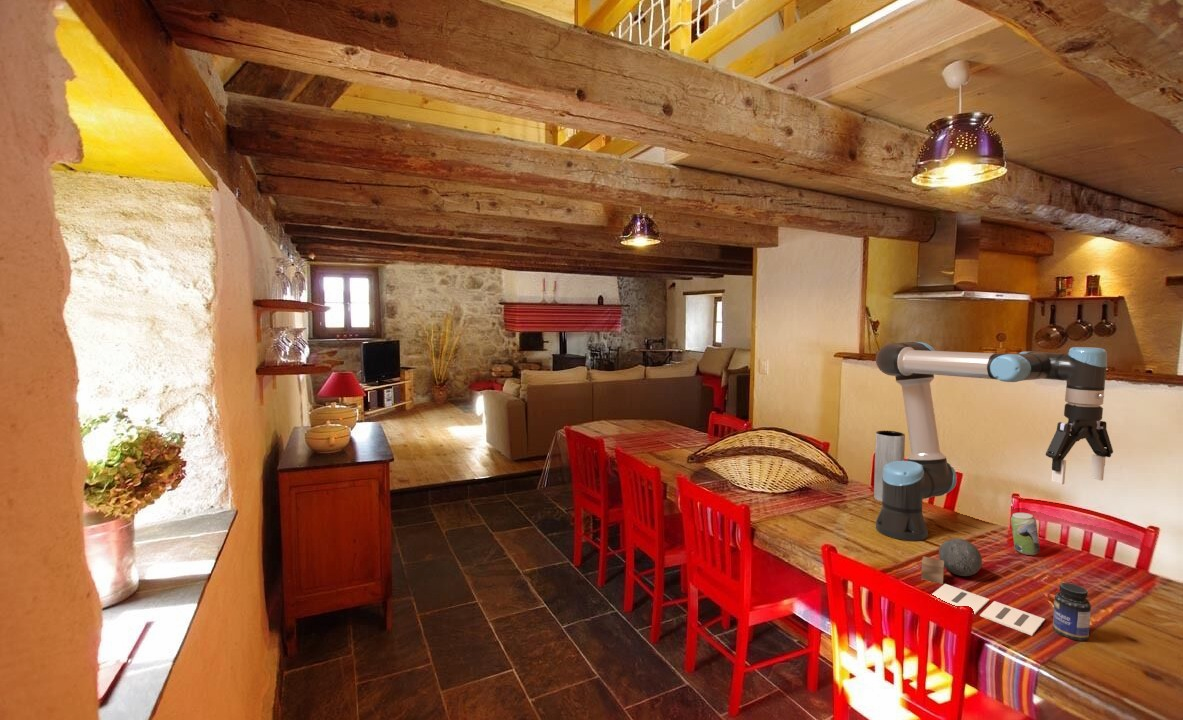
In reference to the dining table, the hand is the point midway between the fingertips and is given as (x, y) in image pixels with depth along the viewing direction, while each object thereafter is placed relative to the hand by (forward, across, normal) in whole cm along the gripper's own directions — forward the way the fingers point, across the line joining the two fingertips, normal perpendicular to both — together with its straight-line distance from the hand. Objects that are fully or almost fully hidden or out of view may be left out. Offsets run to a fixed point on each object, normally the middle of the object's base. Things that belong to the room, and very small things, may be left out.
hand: (1077, 480), depth 142 cm
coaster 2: (+28, -35, -12) cm, 46 cm away
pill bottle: (+28, -28, -20) cm, 44 cm away
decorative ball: (+28, -28, +8) cm, 41 cm away
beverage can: (+28, +3, +15) cm, 32 cm away
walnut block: (+28, -37, +8) cm, 47 cm away
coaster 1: (+28, -40, -2) cm, 48 cm away
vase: (+29, -1, +64) cm, 70 cm away
